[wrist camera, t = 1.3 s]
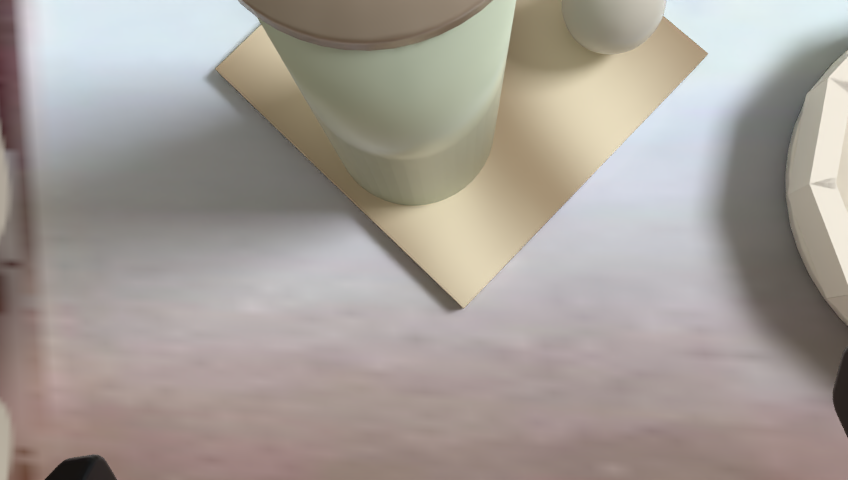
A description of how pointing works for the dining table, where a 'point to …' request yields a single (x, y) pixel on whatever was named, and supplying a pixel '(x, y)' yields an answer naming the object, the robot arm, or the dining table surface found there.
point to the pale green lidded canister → (398, 85)
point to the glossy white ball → (612, 23)
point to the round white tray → (822, 185)
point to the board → (495, 138)
